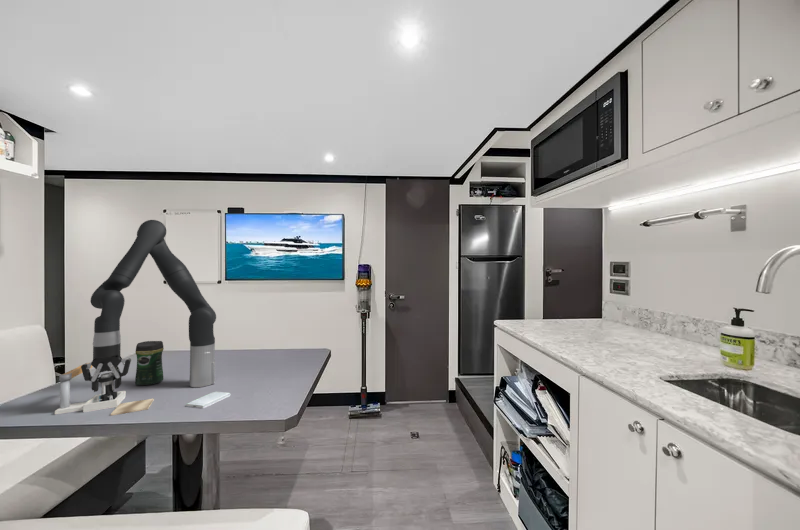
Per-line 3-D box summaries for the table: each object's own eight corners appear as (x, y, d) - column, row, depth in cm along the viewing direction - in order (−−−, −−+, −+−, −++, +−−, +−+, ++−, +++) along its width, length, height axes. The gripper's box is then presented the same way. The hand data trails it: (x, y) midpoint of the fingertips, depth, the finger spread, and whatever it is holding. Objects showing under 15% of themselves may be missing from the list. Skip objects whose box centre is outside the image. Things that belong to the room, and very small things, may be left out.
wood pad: (153, 400, 121) (153, 398, 121) (147, 409, 112) (147, 407, 112) (119, 405, 116) (119, 403, 116) (110, 415, 107) (110, 413, 107)
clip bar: (68, 380, 112) (68, 374, 112) (57, 381, 111) (57, 376, 111) (93, 367, 129) (93, 362, 129) (84, 368, 127) (84, 363, 128)
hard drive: (213, 391, 127) (185, 403, 115) (230, 392, 124) (203, 405, 112) (213, 395, 127) (185, 407, 115) (230, 397, 124) (203, 410, 112)
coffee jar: (166, 379, 145) (167, 339, 146) (154, 385, 137) (155, 342, 138) (144, 380, 145) (145, 339, 145) (131, 386, 137) (131, 343, 137)
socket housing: (125, 397, 124) (126, 370, 125) (116, 407, 115) (117, 378, 115) (66, 406, 116) (66, 377, 117) (51, 417, 107) (51, 386, 107)
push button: (102, 405, 113) (101, 377, 114) (90, 405, 114) (89, 377, 115) (121, 397, 120) (120, 371, 120) (109, 397, 121) (109, 371, 121)
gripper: (134, 339, 125) (134, 383, 124) (85, 344, 118) (84, 390, 117) (129, 343, 118) (128, 388, 118) (76, 347, 111) (76, 396, 111)
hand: (106, 389), depth 117 cm, fingers closed on push button, 5 cm apart
